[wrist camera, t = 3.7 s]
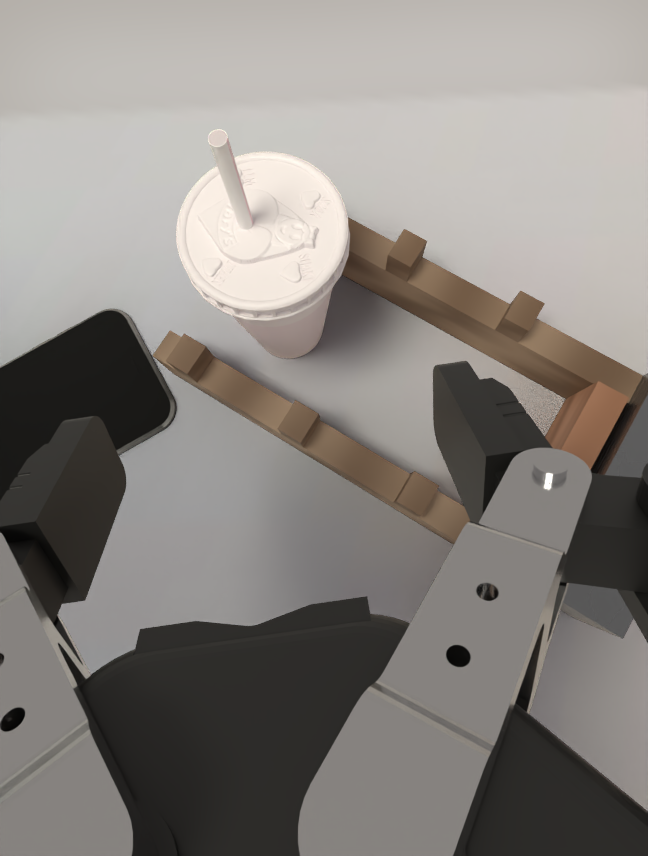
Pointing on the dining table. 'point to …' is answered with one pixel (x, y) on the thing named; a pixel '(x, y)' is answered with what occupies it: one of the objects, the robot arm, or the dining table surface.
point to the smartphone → (81, 389)
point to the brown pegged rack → (456, 315)
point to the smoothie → (265, 244)
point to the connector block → (620, 456)
